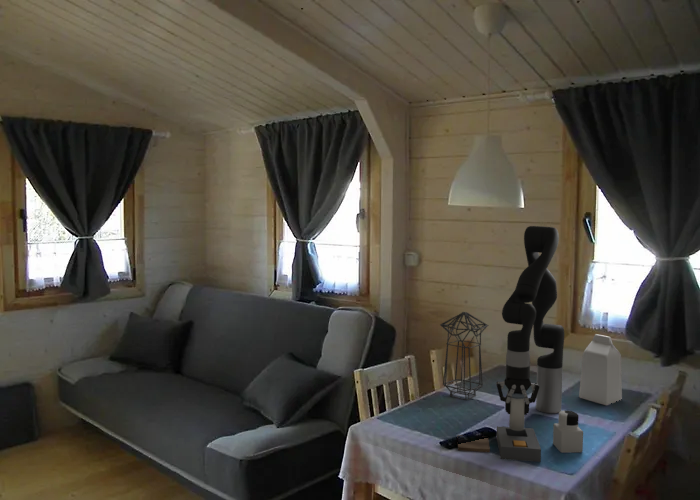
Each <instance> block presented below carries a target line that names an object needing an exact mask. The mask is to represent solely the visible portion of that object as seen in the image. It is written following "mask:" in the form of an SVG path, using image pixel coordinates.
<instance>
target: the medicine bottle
mask: <svg viewBox="0 0 700 500" xmlns="http://www.w3.org/2000/svg"><path fill="white" fill-rule="evenodd" d="M552 429H553V431H552V444H553V445H554V447H555V448H556V449H557V450H558V451H559V452H560V453H563V454H564V453H565V454H566V453H571V454H572V453H574V454H575V453H583V451H584V450H583V449H584V431H583V430H582V429H581V428H580V427H579V414H578V413H577V412H575V411H572V410H561V412H559V413H558V422H556V423H553V428H552Z"/></svg>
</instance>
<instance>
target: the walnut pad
mask: <svg viewBox="0 0 700 500" xmlns="http://www.w3.org/2000/svg"><path fill="white" fill-rule="evenodd" d="M458 436H462V435H459V434H458V435H457V437H458ZM457 450H458V451H461V452H462V451H464V452H476V453H477V452H478V453H479V452H480V453H490V452H491V447H490V441H489V437H488V438H484V439H479V440H475V441H471V442H466V443H461V444H458V443H457Z"/></svg>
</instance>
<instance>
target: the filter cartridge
mask: <svg viewBox="0 0 700 500" xmlns="http://www.w3.org/2000/svg"><path fill="white" fill-rule="evenodd" d="M509 392H510V391H509ZM524 395H525V394H524ZM524 395H523V394H517V393H513V394H512V397H511V400H510V414H508V415H509V419H508V420H509V422H508V427H509V428H510V429H512V430H515V431H522V430H524V428H525V419H526V418H525V416H526V415H525V399H524Z"/></svg>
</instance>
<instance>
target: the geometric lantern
mask: <svg viewBox="0 0 700 500" xmlns="http://www.w3.org/2000/svg"><path fill="white" fill-rule="evenodd" d="M463 317H464V320H465V321H463V320H462V319H463ZM474 320H476V321H477V322H479V323H476V322H475V321H474ZM460 323H461V324H462V325H463V326H464V327H465V328H459V326H460ZM456 324H457V326H456ZM439 325H440V326H441V328H443V329H444V330H445V331H446V332H447V341H446V351H445V360H444V361H445V362H444V371H443V378H442V379H443V380H442V381H443V383H442V386H444V387H445V388H446V389H447V390H448V391H449V396H450V397H451V398H455V399H459V400H463V401H469V400H471V399H473V398H475V397H476V396H477V395H476V392H477V391H478V390H480V389H481V388H483V387H484V384H483V383H484V382H483V367H482V364H483V363H482V351H481V346H482V333H483V332H484V331H485V330H486V329H487V327H489V324H486V323H485V322H484V321H482V320H480V319H479V318H477V317H475V316H474V315H472V314H470V313H469V312H467V311H462V312H460V313H459V314H457V315H455V316H453V317H451V318H449V319H448V320H446V321H444V322H442V323H440V324H439ZM480 326H481V327H480ZM454 330H455V332H456V334H455V332H454ZM458 331H461V332H459V333H458ZM467 331H468V332H467ZM478 331H479V333H478ZM465 332H467V333H466V334H465V336H464V338H463V339H462V338H461V337H460V335H462V334H464V333H465ZM470 332H472V333H473V336H472V338H471V339H470V340H469V341H468V340H465V339H466V338H467V337H468V335H469V334H470ZM452 336H454V337H455V338H456V340H454V341H450V338H451V337H452ZM477 337H479V340H478V338H477ZM474 338H475V339H476V341H477V342H475V341H473V340H474ZM449 341H450V342H449ZM460 342H461V346H460ZM464 342H465V343H468V345H467V346H466V345H465V344H464ZM453 343H457V345H455V344H453ZM472 343H473V344H476V345H473V346H470V345H471V344H472ZM449 346H453V347H457V348H456V349H457V350H456V351H457V352H456V359H455V360H456V361H455V362H456V363H455V376H454V379H452V380H450V381H447V375H448V373H447V372H448V357H449V354H448V353H449ZM475 347H478V364H479V365H478V377H479V378H478V379H479V380H478V381H479V382H475V381H472V377H471V376H472V374H471V349H472V348H475ZM459 348H461V365H460V366H461V368H460V370H461V371H460V377H461V378H460V379H459V378H457V372H458V362H459V361H458V360H459ZM466 349H468V351H467V352H468V371H469V372H468V373H469V380H466ZM459 381H460V384H459V385H458V382H459ZM453 382H455V385H456V386H457V387H454V386H451V385H447V384H450V383H453ZM462 382H463V387H462ZM466 383H469V388H467V387H466ZM472 384H476V385H477V386H476V387H473V388H472ZM454 390H456V391H454ZM454 394H460V395H464V396H465V398H462V397H458V396H453V395H454ZM470 395H472V396H471V397H470Z"/></svg>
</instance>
